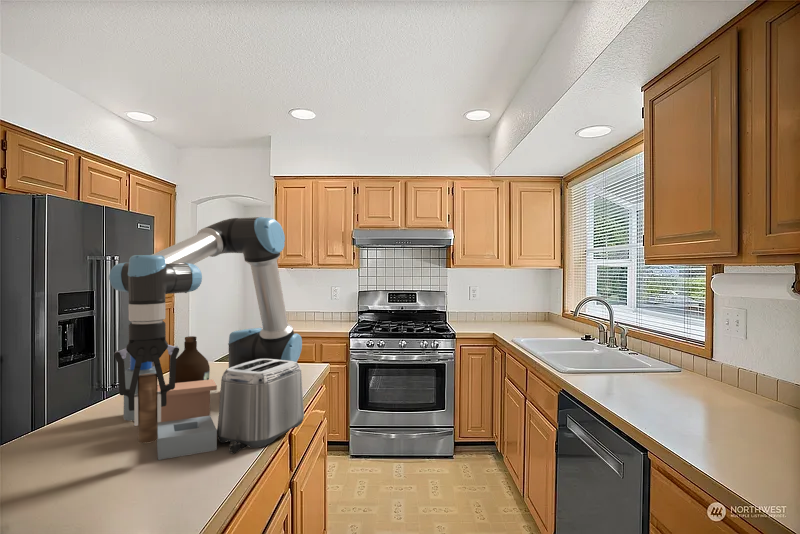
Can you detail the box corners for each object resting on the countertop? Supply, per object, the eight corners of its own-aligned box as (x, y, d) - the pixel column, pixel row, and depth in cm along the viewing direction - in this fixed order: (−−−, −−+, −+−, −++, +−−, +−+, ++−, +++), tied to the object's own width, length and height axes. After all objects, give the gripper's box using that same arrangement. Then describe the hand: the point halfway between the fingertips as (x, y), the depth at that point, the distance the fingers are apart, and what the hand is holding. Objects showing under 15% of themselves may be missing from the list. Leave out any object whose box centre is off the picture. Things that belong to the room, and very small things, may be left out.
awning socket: (212, 424, 136) (212, 379, 136) (222, 449, 118) (223, 396, 118) (150, 433, 128) (150, 385, 128) (150, 461, 110) (151, 404, 110)
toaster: (314, 421, 140) (314, 357, 140) (251, 459, 112) (252, 379, 112) (266, 415, 145) (266, 353, 145) (195, 449, 117) (196, 373, 118)
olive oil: (167, 429, 132) (168, 340, 132) (172, 417, 142) (172, 335, 142) (208, 425, 135) (209, 338, 136) (209, 414, 145) (210, 333, 146)
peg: (157, 435, 111) (157, 372, 111) (157, 441, 108) (157, 376, 108) (138, 438, 110) (137, 374, 109) (138, 444, 106) (137, 378, 106)
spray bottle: (163, 412, 147) (164, 332, 147) (142, 421, 138) (143, 337, 138) (138, 410, 148) (139, 332, 149) (116, 419, 140) (117, 335, 140)
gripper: (186, 317, 116) (186, 411, 116) (105, 321, 108) (106, 423, 108) (188, 321, 109) (189, 421, 109) (102, 326, 101) (103, 433, 101)
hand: (147, 421), depth 109 cm, fingers closed on peg, 4 cm apart
